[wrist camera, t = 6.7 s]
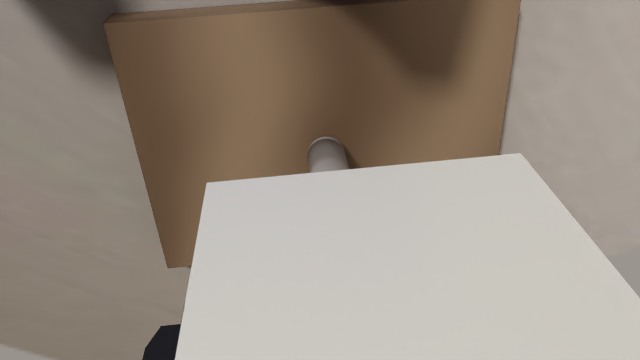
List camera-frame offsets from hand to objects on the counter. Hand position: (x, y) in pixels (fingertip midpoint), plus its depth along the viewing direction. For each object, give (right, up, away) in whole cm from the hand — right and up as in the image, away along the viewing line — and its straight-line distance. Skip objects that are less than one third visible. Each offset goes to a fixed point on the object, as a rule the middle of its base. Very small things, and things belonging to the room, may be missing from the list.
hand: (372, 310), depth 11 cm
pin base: (-1, +4, +7) cm, 9 cm away
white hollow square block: (0, 0, +1) cm, 1 cm away
